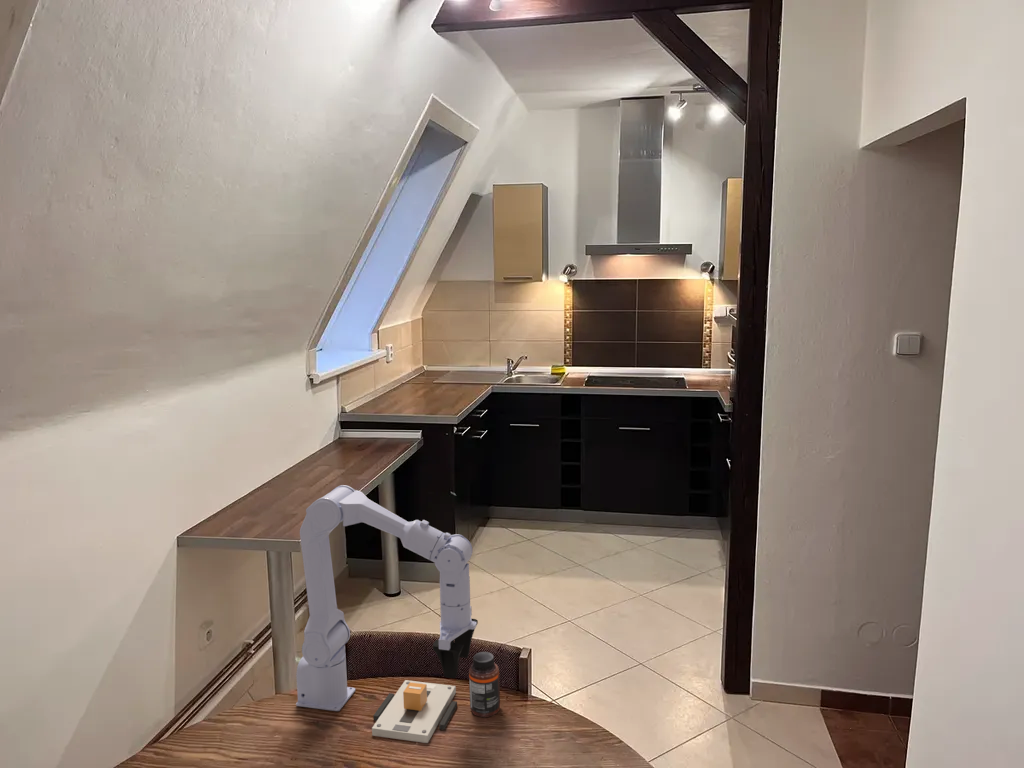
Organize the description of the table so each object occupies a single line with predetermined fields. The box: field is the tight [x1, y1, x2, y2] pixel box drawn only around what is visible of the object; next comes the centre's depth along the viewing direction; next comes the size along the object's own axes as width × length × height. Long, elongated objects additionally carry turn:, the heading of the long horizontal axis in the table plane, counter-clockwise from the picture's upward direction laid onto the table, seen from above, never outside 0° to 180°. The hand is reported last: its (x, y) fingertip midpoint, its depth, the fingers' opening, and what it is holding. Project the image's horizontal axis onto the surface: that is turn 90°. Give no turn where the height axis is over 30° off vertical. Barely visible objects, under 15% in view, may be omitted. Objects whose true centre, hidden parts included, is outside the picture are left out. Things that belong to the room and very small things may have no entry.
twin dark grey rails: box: [372, 692, 458, 731], centre depth 149 cm, size 14×8×1 cm, turn 77°
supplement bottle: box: [468, 651, 501, 718], centre depth 149 cm, size 6×6×11 cm
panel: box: [371, 679, 457, 744], centre depth 149 cm, size 11×17×2 cm, turn 166°
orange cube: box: [403, 682, 427, 711], centre depth 148 cm, size 4×4×4 cm
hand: (456, 666), depth 146 cm, fingers open, 7 cm apart
